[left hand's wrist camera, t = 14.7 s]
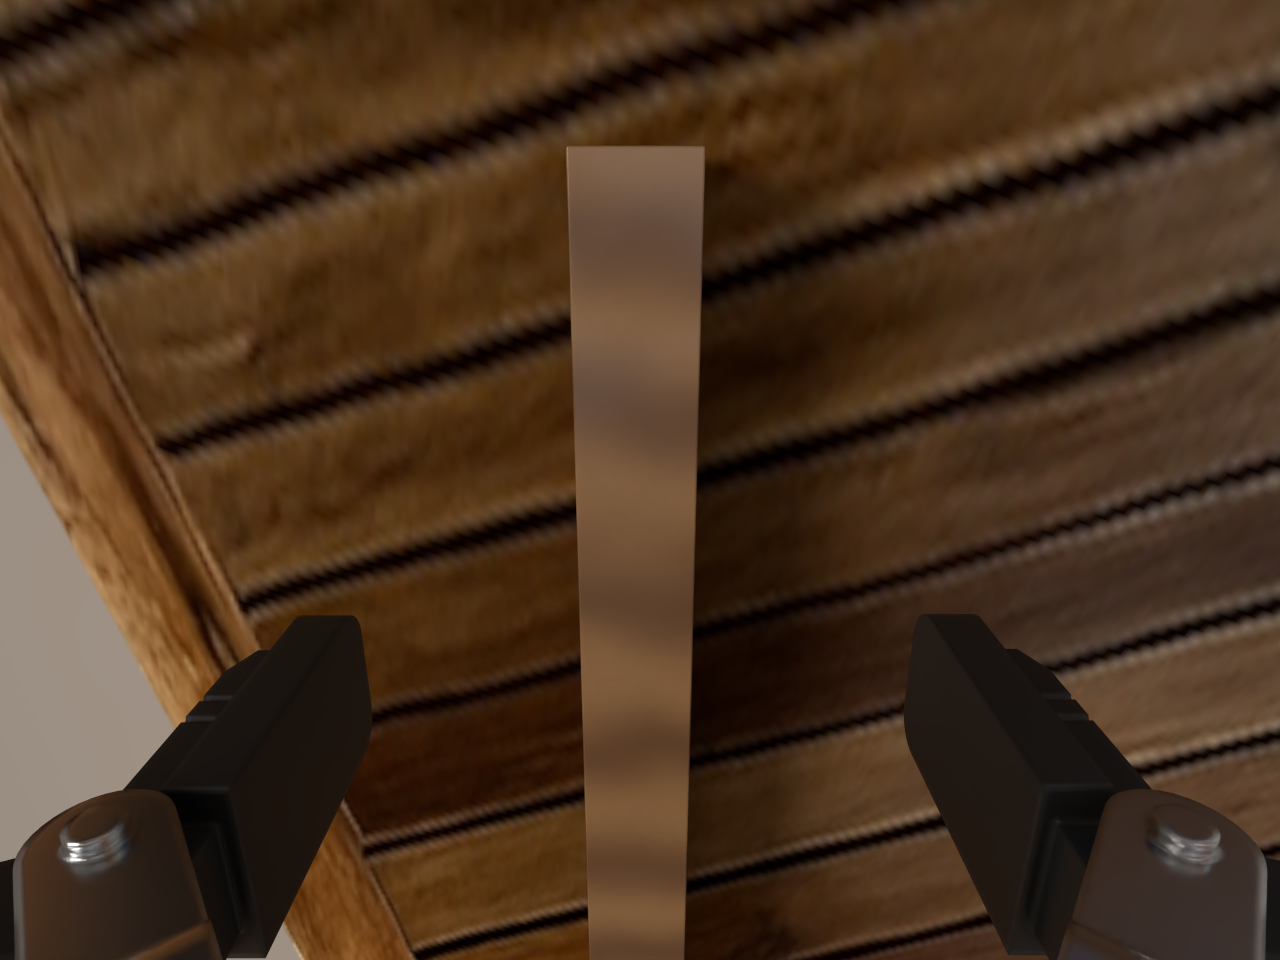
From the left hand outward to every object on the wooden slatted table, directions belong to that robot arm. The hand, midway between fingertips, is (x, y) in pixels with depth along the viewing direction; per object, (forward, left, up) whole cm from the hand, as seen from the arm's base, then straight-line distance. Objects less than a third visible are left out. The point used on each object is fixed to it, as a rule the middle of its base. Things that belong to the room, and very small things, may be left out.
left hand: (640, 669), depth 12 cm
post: (+21, -5, -26) cm, 34 cm away
